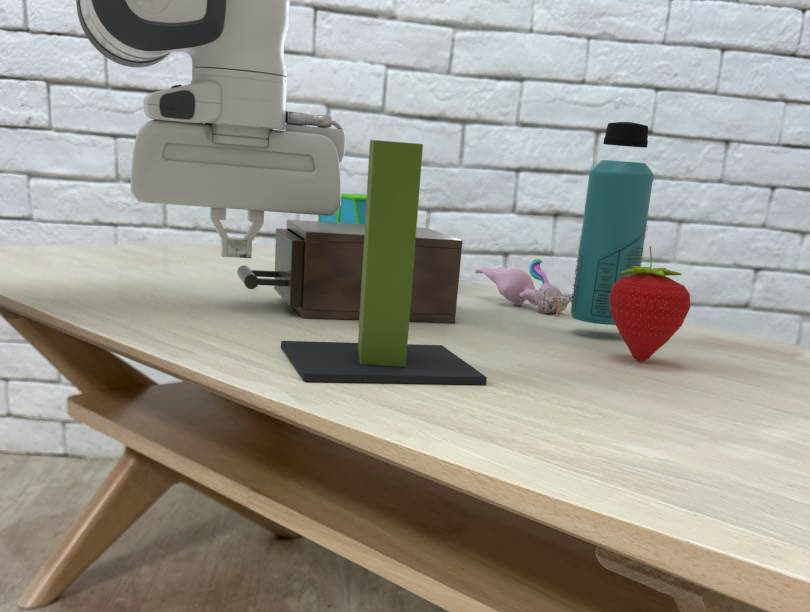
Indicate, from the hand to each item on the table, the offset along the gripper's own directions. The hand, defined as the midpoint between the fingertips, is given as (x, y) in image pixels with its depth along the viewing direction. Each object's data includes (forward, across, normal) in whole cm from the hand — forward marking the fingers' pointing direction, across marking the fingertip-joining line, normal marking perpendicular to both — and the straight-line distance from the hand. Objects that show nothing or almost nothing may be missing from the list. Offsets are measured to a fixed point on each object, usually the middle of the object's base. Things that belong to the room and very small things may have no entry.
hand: (235, 257), depth 99 cm
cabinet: (+5, -14, 0) cm, 14 cm away
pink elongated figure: (+5, -34, -7) cm, 35 cm away
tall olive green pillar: (+4, -9, +27) cm, 29 cm away
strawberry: (+5, -34, +23) cm, 41 cm away
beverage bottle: (+5, -36, +10) cm, 37 cm away
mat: (+5, -9, +27) cm, 29 cm away
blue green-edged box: (+5, -20, -22) cm, 30 cm away
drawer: (+4, -10, 0) cm, 11 cm away
